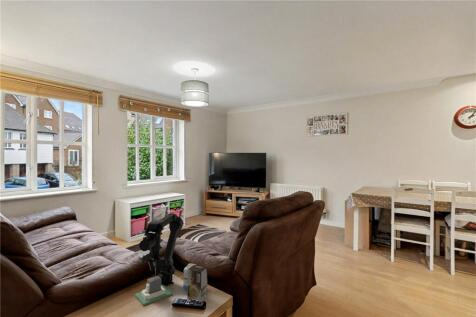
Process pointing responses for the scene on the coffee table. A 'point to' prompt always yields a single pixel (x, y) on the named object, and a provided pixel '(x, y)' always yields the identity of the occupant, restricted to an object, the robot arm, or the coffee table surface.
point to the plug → (153, 285)
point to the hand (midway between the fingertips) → (154, 273)
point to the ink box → (186, 276)
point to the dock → (153, 295)
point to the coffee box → (197, 283)
